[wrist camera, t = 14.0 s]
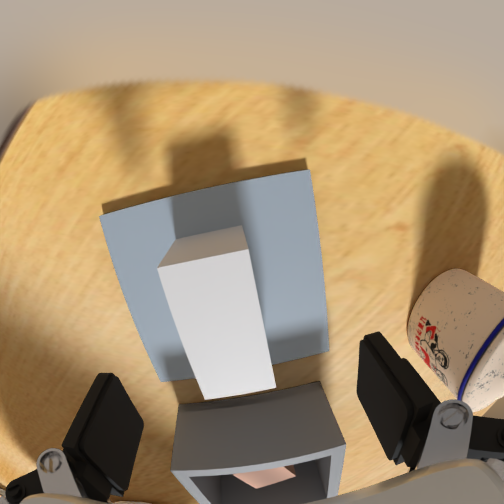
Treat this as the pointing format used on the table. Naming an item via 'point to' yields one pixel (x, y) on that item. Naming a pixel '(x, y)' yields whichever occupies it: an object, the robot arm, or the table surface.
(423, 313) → the teacup with lid
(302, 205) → the lid
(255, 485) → the block
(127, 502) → the white tiered tall piece
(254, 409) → the storage box
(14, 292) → the table surface
